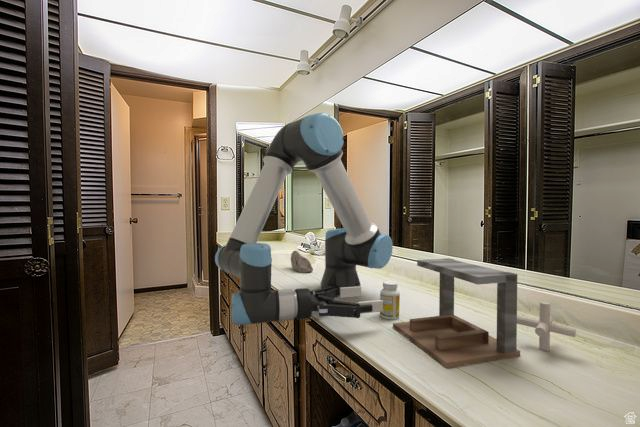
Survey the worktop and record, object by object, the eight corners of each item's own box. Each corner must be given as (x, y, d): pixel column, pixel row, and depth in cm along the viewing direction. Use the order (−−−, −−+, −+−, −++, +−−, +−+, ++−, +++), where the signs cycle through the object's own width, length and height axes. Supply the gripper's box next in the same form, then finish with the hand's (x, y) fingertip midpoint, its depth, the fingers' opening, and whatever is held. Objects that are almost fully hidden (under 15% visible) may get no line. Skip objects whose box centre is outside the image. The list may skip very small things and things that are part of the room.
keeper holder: (392, 327, 74) (393, 261, 74) (451, 320, 79) (452, 258, 79) (446, 368, 55) (447, 279, 55) (520, 355, 60) (521, 273, 60)
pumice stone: (314, 273, 138) (314, 252, 138) (299, 274, 135) (299, 253, 135) (302, 267, 152) (302, 248, 152) (288, 268, 148) (288, 249, 148)
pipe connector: (511, 348, 63) (512, 302, 63) (521, 334, 70) (522, 293, 70) (572, 366, 56) (573, 314, 56) (577, 349, 63) (577, 303, 63)
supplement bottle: (385, 320, 78) (385, 285, 78) (376, 313, 84) (377, 280, 84) (403, 319, 80) (403, 284, 80) (393, 312, 85) (393, 279, 85)
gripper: (286, 303, 86) (353, 298, 92) (304, 339, 62) (393, 329, 68) (287, 278, 86) (353, 274, 92) (305, 304, 62) (393, 297, 67)
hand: (370, 297), depth 80 cm, fingers open, 13 cm apart
